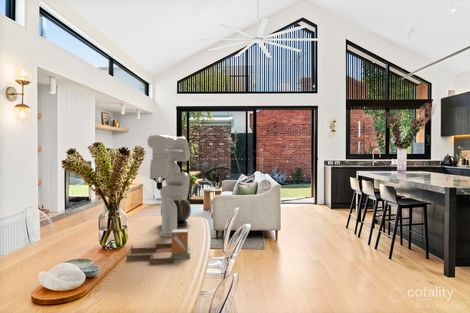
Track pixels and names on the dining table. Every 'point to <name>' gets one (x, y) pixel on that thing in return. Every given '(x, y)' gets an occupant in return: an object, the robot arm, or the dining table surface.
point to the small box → (180, 241)
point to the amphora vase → (182, 211)
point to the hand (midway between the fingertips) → (159, 189)
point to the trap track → (157, 248)
